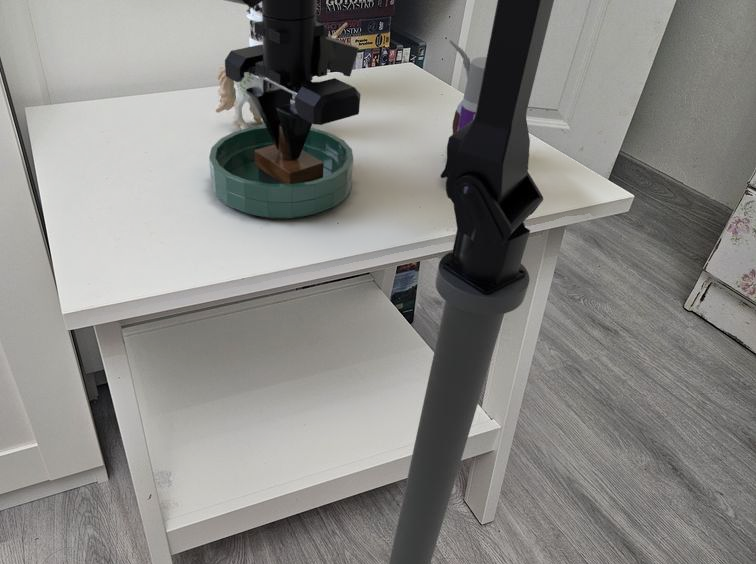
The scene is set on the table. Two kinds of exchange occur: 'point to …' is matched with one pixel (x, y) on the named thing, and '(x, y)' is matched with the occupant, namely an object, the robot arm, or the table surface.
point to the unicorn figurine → (242, 93)
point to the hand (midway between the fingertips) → (288, 154)
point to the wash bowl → (247, 194)
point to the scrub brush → (286, 165)
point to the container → (472, 92)
